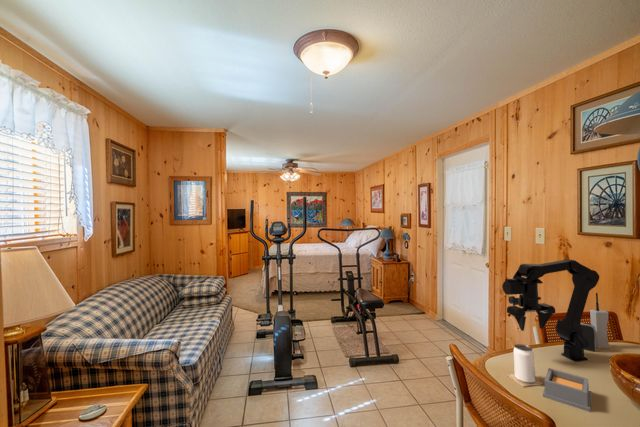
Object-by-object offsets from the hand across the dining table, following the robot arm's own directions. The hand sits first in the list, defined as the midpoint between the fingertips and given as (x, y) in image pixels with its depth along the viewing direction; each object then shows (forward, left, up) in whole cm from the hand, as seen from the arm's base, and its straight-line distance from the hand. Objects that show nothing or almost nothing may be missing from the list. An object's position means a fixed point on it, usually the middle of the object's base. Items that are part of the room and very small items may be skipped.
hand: (531, 329), depth 124 cm
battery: (-31, -4, -13) cm, 34 cm away
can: (+16, +13, -13) cm, 24 cm away
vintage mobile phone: (-39, -4, -13) cm, 41 cm away
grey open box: (+10, +24, -13) cm, 29 cm away
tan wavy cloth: (+16, +13, -13) cm, 24 cm away
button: (+10, +24, -12) cm, 28 cm away
